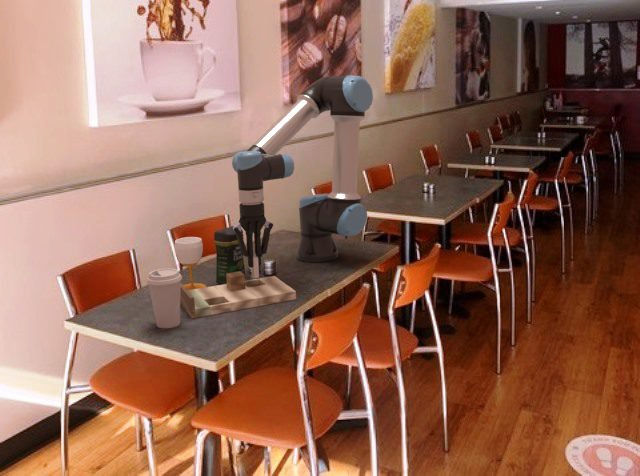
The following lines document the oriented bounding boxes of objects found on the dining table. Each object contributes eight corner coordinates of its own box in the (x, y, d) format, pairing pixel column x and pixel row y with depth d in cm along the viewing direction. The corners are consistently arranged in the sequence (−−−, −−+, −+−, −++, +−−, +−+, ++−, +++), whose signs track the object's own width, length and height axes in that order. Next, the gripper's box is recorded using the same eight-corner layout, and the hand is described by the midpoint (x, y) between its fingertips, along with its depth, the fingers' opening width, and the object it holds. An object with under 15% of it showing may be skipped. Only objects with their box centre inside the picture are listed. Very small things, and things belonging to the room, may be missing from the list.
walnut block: (240, 285, 213) (240, 271, 212) (245, 289, 209) (244, 275, 208) (227, 287, 211) (226, 273, 210) (231, 291, 207) (230, 277, 206)
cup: (172, 289, 219) (167, 240, 215) (195, 282, 226) (191, 235, 222) (189, 294, 213) (185, 245, 209) (212, 287, 220) (208, 239, 216)
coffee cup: (153, 319, 193) (148, 268, 190) (187, 316, 194) (183, 266, 190) (148, 331, 184) (142, 278, 180) (184, 329, 185) (179, 276, 181)
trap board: (274, 283, 222) (273, 265, 220) (296, 299, 206) (295, 280, 204) (177, 300, 209) (175, 281, 207) (192, 318, 193) (190, 298, 191)
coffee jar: (230, 288, 218) (226, 232, 213) (212, 284, 222) (208, 229, 218) (250, 280, 225) (247, 225, 221) (232, 277, 230) (229, 223, 225)
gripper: (234, 206, 202) (239, 282, 207) (275, 202, 207) (279, 276, 212) (227, 202, 208) (231, 276, 214) (267, 198, 213) (270, 270, 219)
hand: (255, 276), depth 213 cm, fingers closed
